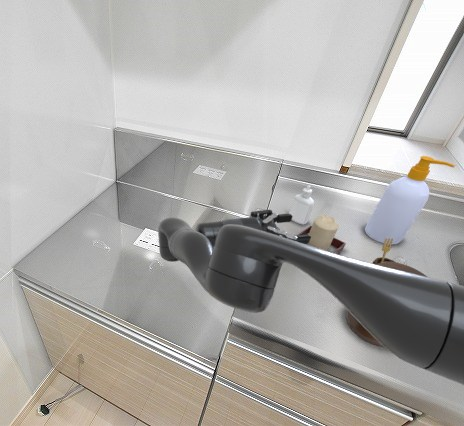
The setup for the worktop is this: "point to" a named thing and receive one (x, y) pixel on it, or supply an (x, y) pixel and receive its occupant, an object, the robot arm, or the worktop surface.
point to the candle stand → (353, 322)
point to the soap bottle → (401, 203)
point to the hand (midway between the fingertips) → (299, 227)
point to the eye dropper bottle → (302, 206)
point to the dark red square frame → (334, 242)
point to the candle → (323, 232)
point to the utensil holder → (385, 249)
